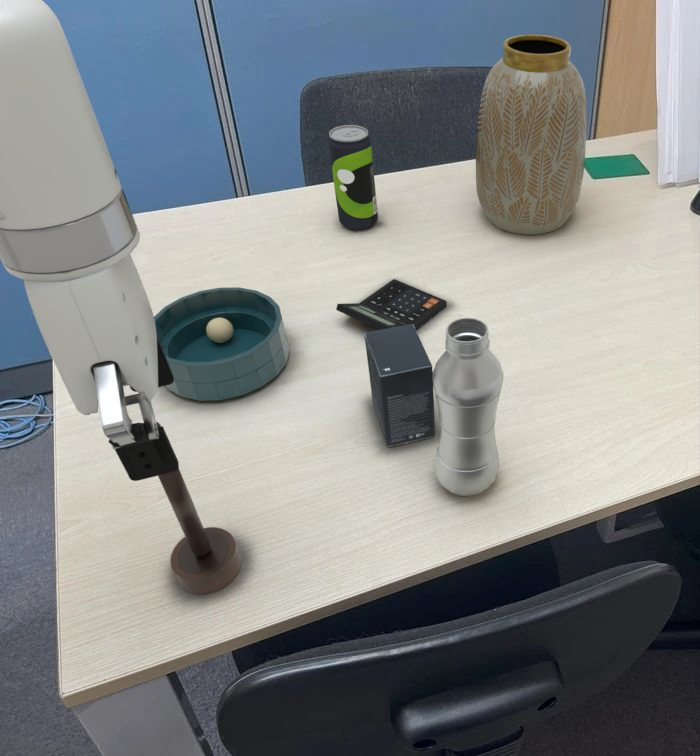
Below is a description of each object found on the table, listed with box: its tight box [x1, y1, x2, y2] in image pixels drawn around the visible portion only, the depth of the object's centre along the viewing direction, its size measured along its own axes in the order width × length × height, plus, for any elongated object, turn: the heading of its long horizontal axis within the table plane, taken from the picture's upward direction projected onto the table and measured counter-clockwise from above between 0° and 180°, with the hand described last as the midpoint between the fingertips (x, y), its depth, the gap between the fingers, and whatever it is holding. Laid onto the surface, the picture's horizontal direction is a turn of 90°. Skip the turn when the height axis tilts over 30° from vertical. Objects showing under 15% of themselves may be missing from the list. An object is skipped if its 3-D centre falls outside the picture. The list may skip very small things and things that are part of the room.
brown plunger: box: [156, 421, 242, 596], centre depth 59 cm, size 6×6×19 cm
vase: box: [475, 34, 588, 236], centre depth 109 cm, size 17×17×27 cm
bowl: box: [153, 286, 290, 402], centre depth 85 cm, size 15×15×6 cm
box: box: [363, 324, 436, 448], centre depth 77 cm, size 8×6×11 cm
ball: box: [206, 318, 234, 343], centre depth 88 cm, size 3×3×3 cm
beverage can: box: [327, 124, 379, 232], centre depth 109 cm, size 6×6×15 cm
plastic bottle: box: [432, 317, 504, 497], centre depth 68 cm, size 6×7×20 cm
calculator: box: [335, 278, 448, 331], centre depth 95 cm, size 9×12×3 cm
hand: (154, 426), depth 53 cm, fingers open, 9 cm apart
